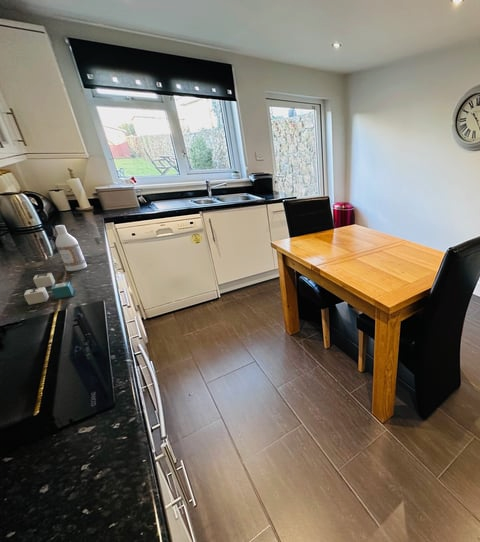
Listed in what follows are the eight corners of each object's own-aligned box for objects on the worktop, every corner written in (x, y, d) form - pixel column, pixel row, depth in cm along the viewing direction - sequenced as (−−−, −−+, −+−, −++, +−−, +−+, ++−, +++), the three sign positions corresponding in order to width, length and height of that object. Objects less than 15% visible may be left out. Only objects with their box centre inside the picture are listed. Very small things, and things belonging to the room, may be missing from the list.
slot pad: (51, 301, 101) (51, 300, 101) (54, 294, 105) (53, 294, 105) (74, 296, 105) (74, 295, 105) (76, 290, 109) (75, 289, 109)
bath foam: (62, 272, 124) (43, 228, 116) (73, 266, 130) (55, 224, 122) (81, 271, 125) (63, 227, 118) (90, 265, 132) (74, 223, 124)
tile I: (28, 305, 98) (23, 294, 97) (31, 299, 101) (26, 289, 100) (47, 301, 101) (42, 291, 99) (49, 296, 104) (44, 286, 102)
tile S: (55, 298, 102) (50, 288, 100) (57, 294, 105) (52, 284, 104) (72, 295, 105) (68, 285, 103) (73, 291, 108) (69, 281, 106)
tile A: (37, 288, 110) (32, 278, 108) (39, 284, 113) (35, 274, 111) (53, 285, 112) (49, 276, 111) (55, 281, 115) (51, 272, 114)
